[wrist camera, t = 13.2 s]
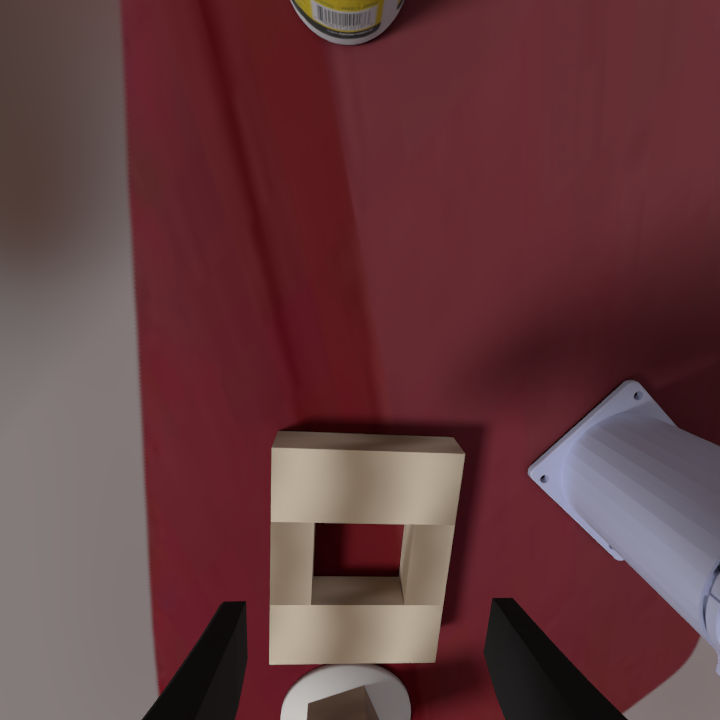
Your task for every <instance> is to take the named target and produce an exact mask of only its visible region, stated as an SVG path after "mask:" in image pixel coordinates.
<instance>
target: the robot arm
mask: <svg viewBox="0 0 720 720" xmlns="http://www.w3.org/2000/svg"><path fill="white" fill-rule="evenodd" d="M636 392H637V395H636V396H635V397H634V394H635V393H636ZM528 475H529V476H530V477H531V478H532V479H533V480H534V481H535V482H536V483H537V484H538V485H539V486H540V487H541V488H542V489H543V490H544V491H545V492H546V493H547V494H548V495H549V496H550V497H551V498H552V499H554V500H555V501H556V502H557V503H558V504H559V505H560V506H561V507H562V508H563V509H564V510H565V511H566V512H567V513H568V514H569V515H570V516H571V517H572V518H573V519H574V520H575V521H576V522H578V523H579V524H580V525H581V526H582V527H583V528H584V529H585V530H586V531H587V532H588V533H589V534H590V535H591V536H592V537H593V538H594V539H595V540H596V541H597V542H598V543H599V544H600V545H602V546H603V547H604V548H605V549H606V550H607V551H608V552H609V553H610V554H611V555H612V556H613V557H614V558H615V559H616V560H620V561H622V560H625V561H626V562H627V563H628V564H629V565H630V566H631V567H632V568H633V569H634V570H635V571H636V572H637V573H638V574H639V575H640V576H641V577H642V578H643V579H644V580H645V581H646V582H647V583H648V584H649V585H650V586H651V587H653V588H654V589H655V590H656V591H657V592H658V593H659V594H660V595H661V596H662V597H663V598H664V599H665V600H666V601H667V602H668V603H669V604H670V605H671V606H672V607H673V608H674V609H675V610H676V611H677V612H678V613H679V614H680V615H681V616H682V617H683V618H684V619H685V620H686V621H687V622H688V623H689V624H690V625H691V626H692V627H693V628H694V629H695V630H696V631H697V632H698V633H699V634H700V635H701V636H702V637H703V638H704V639H705V640H706V641H707V642H708V643H709V644H710V645H711V646H712V647H714V648H715V650H716V652H717V656H718V661H717V666H716V673H717V674H718V675H719V676H720V446H718V445H716V444H714V443H711V442H709V441H707V440H705V439H702V438H700V437H698V436H695V435H693V434H691V433H689V432H686V431H684V430H682V429H680V428H678V427H677V426H676V425H675V424H674V423H673V421H672V420H671V419H670V418H669V417H668V416H667V415H666V413H665V412H664V411H663V410H662V409H661V408H660V406H659V405H658V404H657V403H656V402H655V401H654V399H653V398H652V397H651V396H650V395H649V394H648V393H647V391H646V390H645V389H644V388H643V387H642V386H641V384H640V383H638V382H636V381H634V380H627V381H625V382H623V383H622V384H621V385H620V386H619V387H618V388H617V389H616V390H614V391H613V392H612V393H611V394H610V395H609V396H608V397H607V398H606V399H604V400H603V401H602V402H601V403H600V404H599V405H598V406H597V407H596V408H594V409H593V410H592V411H591V412H590V413H589V414H588V415H587V416H586V417H584V418H583V419H582V420H581V421H580V422H579V423H578V424H577V425H576V426H574V427H573V428H572V429H571V430H570V431H569V432H568V433H567V434H566V435H564V436H563V437H562V438H561V439H560V440H559V441H558V442H557V443H556V444H554V445H553V446H552V447H551V448H550V449H549V450H548V451H547V452H546V453H544V454H543V455H542V456H541V457H540V458H539V459H538V460H537V461H535V462H534V463H533V464H532V465H531V466H530V467H529V469H528ZM543 475H545V477H544V478H543V479H540V478H541V477H542V476H543ZM484 655H485V659H486V662H487V666H488V669H489V673H490V676H491V680H492V683H493V686H494V689H495V693H496V696H497V699H498V702H499V704H500V707H501V709H502V712H503V715H504V717H505V720H628V719H626V718H625V717H624V716H623V715H622V714H621V713H620V712H619V711H618V710H617V709H616V708H615V707H614V706H613V705H612V704H611V703H610V702H609V701H608V700H607V699H606V698H605V697H604V696H603V695H602V694H601V693H600V692H599V691H598V690H597V689H596V688H595V687H594V686H593V685H592V684H591V683H590V682H589V681H588V680H587V679H586V677H585V676H584V675H583V674H582V673H581V672H580V671H579V670H578V669H577V668H576V667H575V666H574V665H573V664H572V663H571V662H570V661H569V660H568V658H567V657H566V656H565V655H564V654H563V653H562V652H561V651H560V650H559V649H558V648H557V647H556V646H555V644H554V643H553V642H552V641H551V640H550V639H549V638H548V637H547V636H546V634H545V633H544V632H543V631H542V630H541V629H540V628H539V627H538V626H537V625H536V623H535V622H534V621H533V620H532V619H531V618H530V617H529V616H528V615H527V613H526V612H525V611H524V610H523V609H522V608H521V607H520V606H519V605H518V603H517V602H516V601H515V600H514V599H513V598H493V599H492V605H491V611H490V617H489V623H488V630H487V636H486V642H485V648H484ZM247 659H248V655H247V620H246V601H236V602H223V603H222V604H221V605H220V606H219V608H218V609H217V611H216V613H215V615H214V616H213V618H212V619H211V621H210V623H209V624H208V626H207V628H206V629H205V631H204V632H203V634H202V635H201V637H200V639H199V640H198V642H197V643H196V645H195V646H194V648H193V649H192V651H191V652H190V654H189V655H188V657H187V658H186V659H185V661H184V662H183V664H182V665H181V667H180V668H179V670H178V671H177V672H176V674H175V675H174V677H173V678H172V680H171V681H170V682H169V684H168V685H167V687H166V688H165V689H164V691H163V692H162V694H161V695H160V696H159V698H158V699H157V700H156V702H155V703H154V704H153V706H152V707H151V708H150V710H149V711H148V712H147V714H146V715H145V716H144V717H143V719H142V720H235V717H236V713H237V709H238V705H239V700H240V695H241V690H242V685H243V680H244V675H245V669H246V664H247Z"/></svg>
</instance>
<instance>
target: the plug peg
mask: <svg viewBox="0 0 720 720" xmlns="http://www.w3.org/2000/svg"><path fill="white" fill-rule="evenodd" d="M307 720H379V718H378V715H377V713H376V711H375V709H374V707H373V704H372V702H371V700H370V698H369V695H368V693H367V691H366V689H365V686H364V685H363V686H360V687H357V688H354V689H351V690H348V691H345V692H342V693H339V694H335V695H332V696H329V697H326V698H323V699H320V700H317V701H314V702H311V703H308V710H307Z"/></svg>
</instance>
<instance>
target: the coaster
mask: <svg viewBox="0 0 720 720" xmlns="http://www.w3.org/2000/svg"><path fill="white" fill-rule="evenodd" d="M363 685H364V686H365V689H366V691H367V693H368V695H369V698H370V700H371V702H372V704H373V707H374V709H375V711H376V713H377V715H378V718H379V720H410V717H411V705H410V699H409V695H408V692H407V690H406V688H405V686H404V685H403V683H402V682H401V681H400V680H399V678H398V677H397V676H395V675H394V674H393V673H392V672H390V671H388V670H387V669H385V668H383V667H380V666H378V665H375V664H372V663H358V664H326V665H323V666H320V667H318V668H316V669H314V670H312V671H310V672H308V673H307V674H305V675H304V676H302V677H301V678H300V679H298V680H297V681H296V682H295V683H294V684H293V685H292V687H291V688H290V689H289V691H288V693H287V694H286V696H285V698H284V701H283V705H282V710H281V720H307V710H308V703H311V702H314V701H317V700H320V699H323V698H326V697H329V696H332V695H335V694H339V693H342V692H345V691H348V690H351V689H354V688H357V687H360V686H363Z"/></svg>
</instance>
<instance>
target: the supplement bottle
mask: <svg viewBox="0 0 720 720" xmlns="http://www.w3.org/2000/svg"><path fill="white" fill-rule="evenodd" d="M403 2H404V0H291V3H292V5H293V7H294V8H295V10H296V12H297V14H298V15H299V17H300V18H301V19H302V20H303V22H304V23H305V24H306V25H307V26H308V27H309V28H310V29H311V30H312V31H313V32H314V33H316V34H317V35H319V36H320V37H322V38H324V39H326V40H328V41H330V42H333V43H337V44H342V45H356V44H361V43H364V42H367V41H369V40H371V39H373V38H375V37H377V36H378V35H380V34H381V33H382V32H383V31H384V30H386V29H387V27H388V26H389V25H390V24H391V23H392V22H393V20H394V19H395V17H396V16H397V14H398V13H399V11H400V9H401V7H402V4H403Z"/></svg>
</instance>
